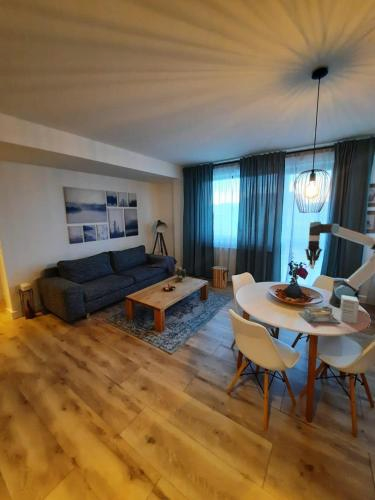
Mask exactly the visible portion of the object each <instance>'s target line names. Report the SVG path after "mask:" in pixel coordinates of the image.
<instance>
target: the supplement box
mask: <svg viewBox="0 0 375 500" xmlns="http://www.w3.org/2000/svg"><path fill="white" fill-rule="evenodd" d="M359 306H360V301H359V299H358V297H357V296H354V297H352V296H345V295H341V305H340V308H339V319H340V321H341V322H345V323H349V324H355V325H356V324H358V316H359V315H358V313H359Z"/></svg>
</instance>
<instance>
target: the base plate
mask: <svg viewBox="0 0 375 500" xmlns="http://www.w3.org/2000/svg"><path fill="white" fill-rule="evenodd" d="M325 305H326V306H325ZM325 305H324V306H322V308H326V311H325V312H330V313H331V314H330V315H320V316H314V313H312V312H322V311H320V310H311V309H307V307H308V306H304V312H301V311H299V312H297V313H298V314H299V316H300V317H301V318H302V319H303V320H304V321H306V322H307V324H341V322H340V321H339V320H338V319H336V318H335V317H334V314H333V307H332V306H330V304H329V305H327V304H325Z"/></svg>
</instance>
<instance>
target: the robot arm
mask: <svg viewBox="0 0 375 500" xmlns="http://www.w3.org/2000/svg"><path fill="white" fill-rule="evenodd" d="M308 232H309V233H308V243H307V244H308V246H307V248H304V252H305V254H306V260H307V261H309V266H310V269H312V270H314V269H315V268H314V267H315V265H316V262H317V261H318V260H319V258H320V256H321V252H322V251H323V248H320V238H321V234H329V235H330V234H331V235H333V236H335V237H340V238H342V239H345V240H348V241H351V242H354V243H357V244H360V245H363V246H366V247H368V249H370V250H372V251H373V252H372V256H371V257H370V258H369V259H368V260H366V262H364V263H363V265H361V266H360V267H359V268H358V269H357V270H356V271H355V272H354V273H352V274H351V275H350V276H349V277H348V278H341V277H334V278H333V280H332V292H331V296H330V298H329V300H328V304H329V305H331V306H333V307H336V308H339V309H340V305H341V295H345V296H352V297H355V294H356V293H357V292H358V291H359V290H360V288H359V287H361V285H363V284H364V283H366V281H367V280H368V279H369V278H371V277H372V276H373V275H374V274H375V237H373V236H370V235H366V234H364V233H360V232H358V231H354V230H351V229H348V228H345V227H343V226H340V224H338V223H322V221H310V223H309V231H308Z"/></svg>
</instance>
